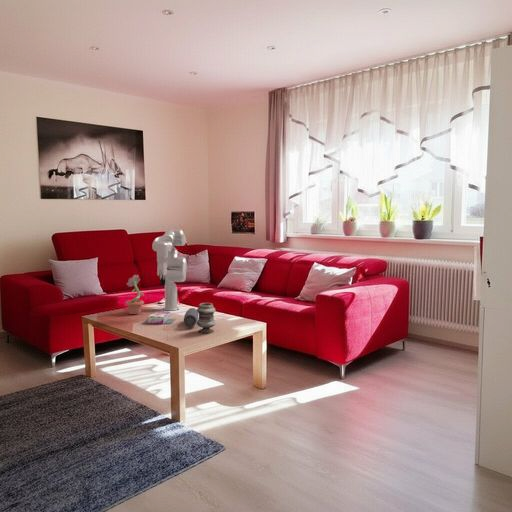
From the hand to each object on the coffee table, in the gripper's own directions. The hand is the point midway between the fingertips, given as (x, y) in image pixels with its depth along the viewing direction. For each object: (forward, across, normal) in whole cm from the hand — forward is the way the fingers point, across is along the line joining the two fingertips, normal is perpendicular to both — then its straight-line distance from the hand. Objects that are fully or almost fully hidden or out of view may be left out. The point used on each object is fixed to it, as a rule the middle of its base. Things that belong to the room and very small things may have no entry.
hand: (162, 284), depth 326 cm
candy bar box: (+22, +3, 0) cm, 22 cm away
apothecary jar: (+23, +36, +37) cm, 57 cm away
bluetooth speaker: (+24, +19, +24) cm, 39 cm away
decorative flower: (+25, -12, -25) cm, 38 cm away
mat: (+24, +11, 0) cm, 26 cm away
